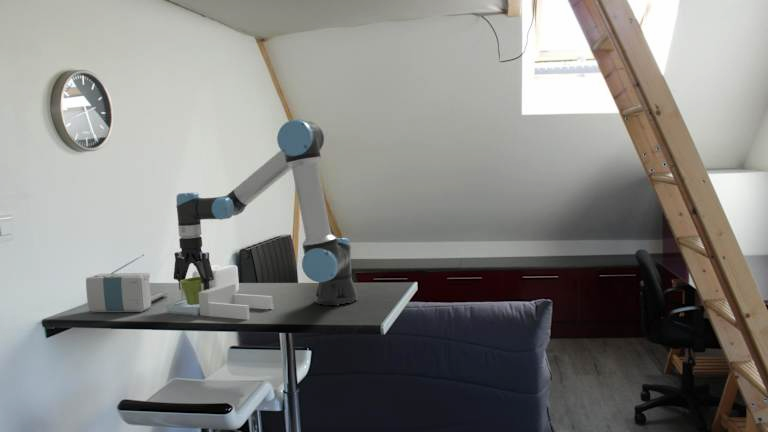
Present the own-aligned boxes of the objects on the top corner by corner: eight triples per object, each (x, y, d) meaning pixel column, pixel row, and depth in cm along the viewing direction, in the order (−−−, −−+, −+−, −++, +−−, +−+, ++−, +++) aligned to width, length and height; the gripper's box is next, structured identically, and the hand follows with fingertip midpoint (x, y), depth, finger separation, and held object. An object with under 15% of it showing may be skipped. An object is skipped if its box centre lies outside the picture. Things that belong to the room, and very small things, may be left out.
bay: (273, 308, 204) (272, 286, 204) (247, 319, 191) (245, 295, 191) (227, 305, 213) (226, 283, 212) (200, 315, 200) (198, 292, 199)
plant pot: (205, 304, 203) (202, 280, 202) (178, 307, 203) (175, 282, 202) (213, 299, 212) (210, 275, 211) (187, 301, 212) (184, 278, 211)
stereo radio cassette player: (87, 314, 209) (82, 258, 207) (101, 308, 217) (96, 254, 215) (142, 313, 206) (137, 257, 204) (154, 307, 214) (150, 253, 212)
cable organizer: (215, 302, 219) (212, 271, 218) (192, 300, 223) (190, 270, 222) (239, 293, 233) (238, 264, 232) (218, 291, 237) (216, 263, 236)
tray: (223, 306, 211) (222, 299, 211) (196, 315, 199) (196, 308, 199) (194, 304, 217) (194, 297, 217) (167, 313, 205) (166, 306, 205)
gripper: (159, 237, 207) (164, 300, 209) (207, 238, 198) (211, 304, 200) (175, 234, 214) (179, 295, 216) (221, 235, 204) (226, 299, 206)
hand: (195, 299), depth 208 cm, fingers open, 9 cm apart
